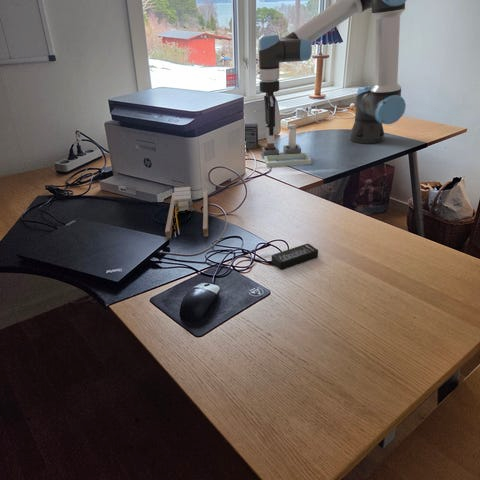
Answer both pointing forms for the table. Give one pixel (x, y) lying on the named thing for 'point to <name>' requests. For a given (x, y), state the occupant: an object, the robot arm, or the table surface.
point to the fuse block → (276, 151)
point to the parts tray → (287, 163)
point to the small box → (251, 135)
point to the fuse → (292, 136)
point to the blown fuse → (270, 145)
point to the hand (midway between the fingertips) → (270, 141)
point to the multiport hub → (294, 256)
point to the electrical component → (182, 201)
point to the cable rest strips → (172, 210)
